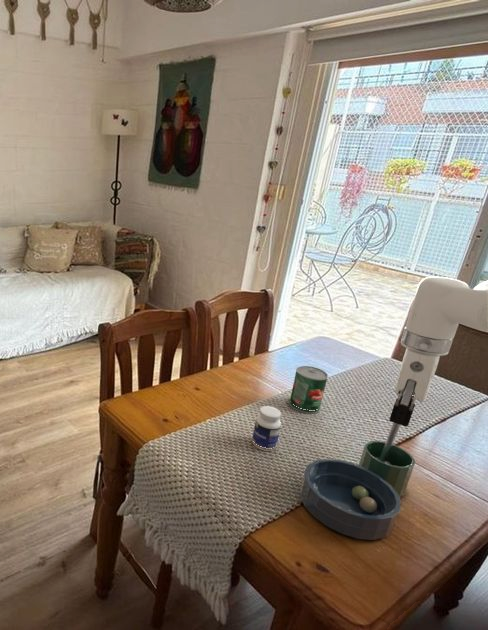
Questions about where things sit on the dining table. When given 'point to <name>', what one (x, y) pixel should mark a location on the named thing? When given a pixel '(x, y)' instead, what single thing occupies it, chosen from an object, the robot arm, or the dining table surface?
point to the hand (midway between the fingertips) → (399, 419)
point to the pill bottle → (267, 428)
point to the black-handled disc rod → (389, 442)
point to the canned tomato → (308, 389)
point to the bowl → (349, 499)
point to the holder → (392, 473)
